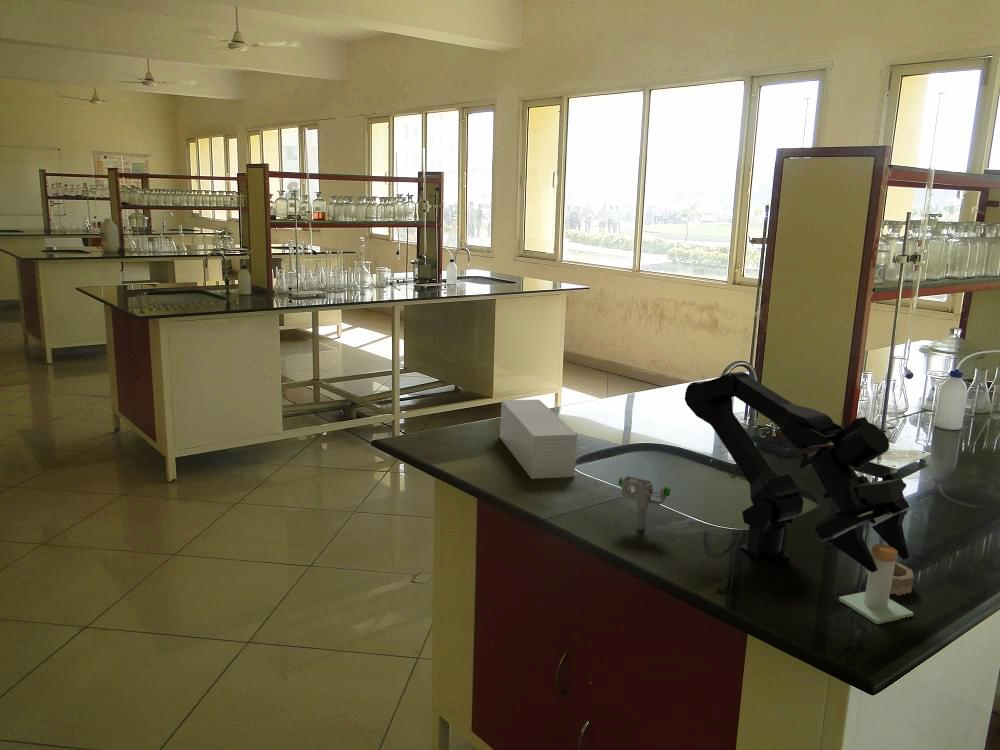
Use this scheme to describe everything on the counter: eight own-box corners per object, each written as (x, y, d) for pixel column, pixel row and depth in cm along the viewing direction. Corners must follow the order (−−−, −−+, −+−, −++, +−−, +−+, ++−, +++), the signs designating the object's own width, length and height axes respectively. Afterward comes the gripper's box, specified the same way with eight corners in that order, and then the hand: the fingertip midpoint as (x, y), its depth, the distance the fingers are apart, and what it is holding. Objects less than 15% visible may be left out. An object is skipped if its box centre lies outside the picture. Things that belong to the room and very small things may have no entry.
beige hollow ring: (884, 598, 133) (887, 582, 132) (851, 579, 140) (853, 563, 139) (919, 591, 136) (922, 575, 136) (886, 572, 143) (888, 557, 142)
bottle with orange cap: (867, 609, 128) (876, 553, 126) (860, 597, 132) (869, 543, 130) (891, 611, 128) (901, 555, 125) (883, 600, 131) (892, 545, 129)
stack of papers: (499, 438, 213) (501, 400, 211) (537, 436, 216) (539, 399, 213) (531, 479, 183) (533, 436, 180) (574, 477, 185) (577, 434, 183)
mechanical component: (662, 537, 154) (667, 489, 152) (614, 525, 159) (617, 478, 156) (667, 532, 156) (671, 485, 154) (619, 520, 161) (622, 474, 159)
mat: (876, 624, 125) (877, 620, 125) (838, 600, 132) (839, 596, 132) (913, 616, 128) (913, 612, 128) (873, 592, 135) (874, 589, 135)
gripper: (842, 466, 122) (898, 559, 116) (907, 450, 132) (962, 534, 126) (793, 496, 130) (843, 584, 124) (858, 478, 141) (907, 559, 134)
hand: (891, 565), depth 127 cm, fingers open, 9 cm apart
